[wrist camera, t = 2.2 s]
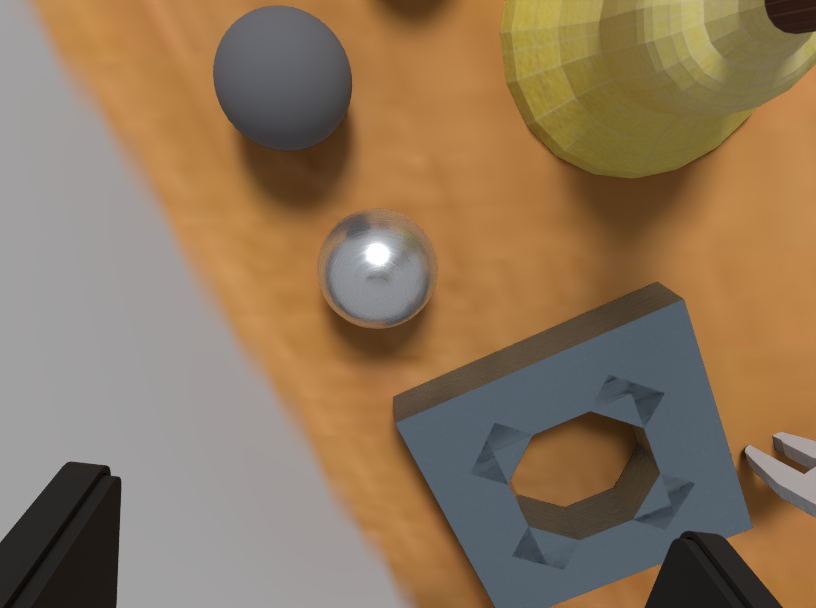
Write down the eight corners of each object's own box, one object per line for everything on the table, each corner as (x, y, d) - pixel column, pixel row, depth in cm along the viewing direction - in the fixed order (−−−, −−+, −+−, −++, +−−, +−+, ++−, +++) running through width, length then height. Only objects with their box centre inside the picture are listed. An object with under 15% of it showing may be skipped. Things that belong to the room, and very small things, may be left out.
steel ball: (331, 189, 25) (321, 210, 21) (442, 210, 26) (457, 235, 21) (314, 294, 27) (302, 337, 22) (419, 312, 28) (428, 357, 23)
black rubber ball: (237, 2, 23) (202, -22, 18) (363, 30, 23) (361, 14, 19) (225, 132, 24) (190, 141, 20) (343, 156, 25) (337, 170, 20)
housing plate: (393, 396, 29) (395, 423, 27) (657, 281, 28) (683, 299, 25) (495, 587, 34) (504, 624, 31) (725, 496, 32) (753, 527, 30)
